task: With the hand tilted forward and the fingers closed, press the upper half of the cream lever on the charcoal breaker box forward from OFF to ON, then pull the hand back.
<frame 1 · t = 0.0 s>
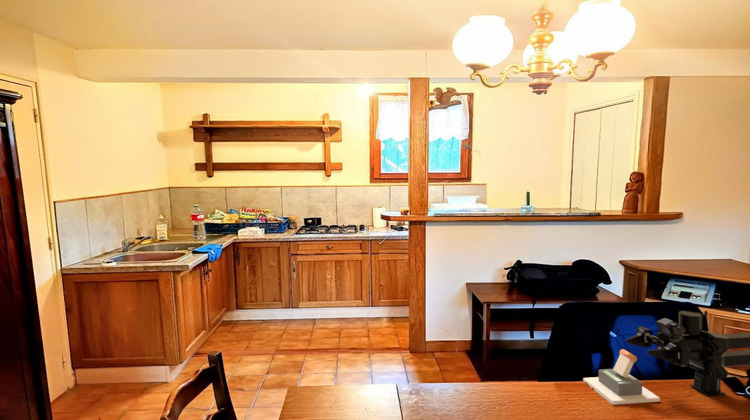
hand: (636, 346, 126), 16 cm above the table, tool horizontal, fingers open, 9 cm apart
breaker lever: (624, 363, 129), point 9 cm above the table, hinge at -25.0°
breaker box: (619, 390, 130), on the table
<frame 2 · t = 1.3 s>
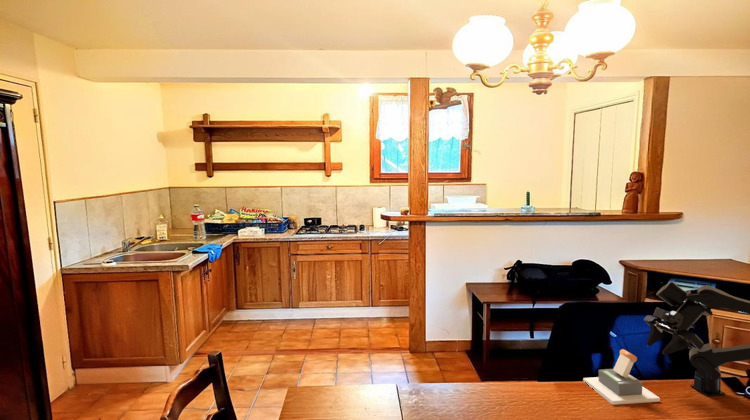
hand: (655, 349, 130), 14 cm above the table, tool tilted 45°, fingers open, 6 cm apart
nothing on the table moved.
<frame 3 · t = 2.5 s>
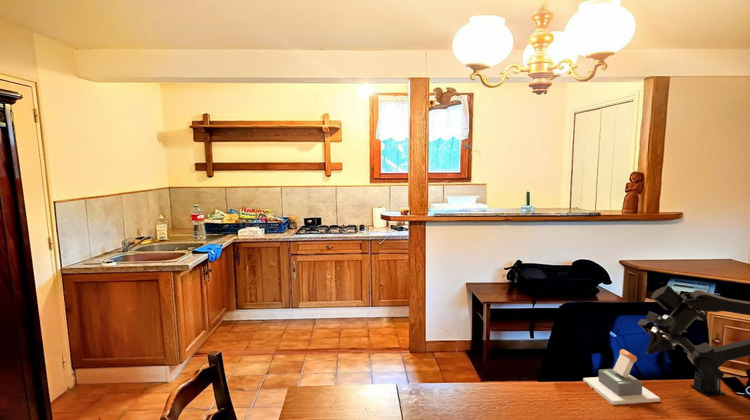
hand: (647, 353, 130), 12 cm above the table, tool tilted 45°, fingers closed
nothing on the table moved.
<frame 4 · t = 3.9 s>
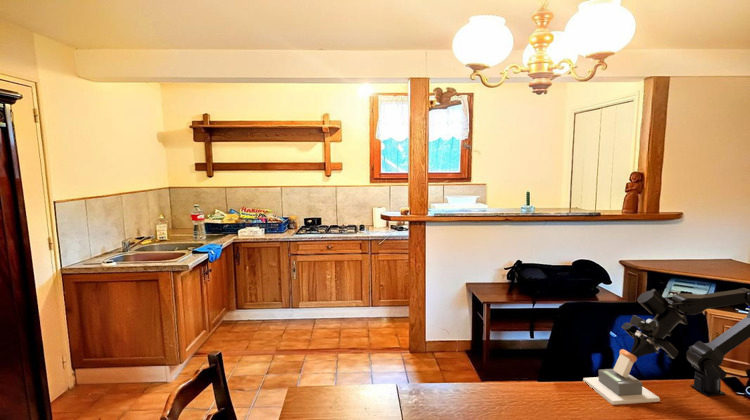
hand: (631, 357, 130), 11 cm above the table, tool tilted 45°, fingers closed, pressing on breaker lever
breaker lever: (624, 363, 129), point 9 cm above the table, hinge at -24.5°, touching gripper
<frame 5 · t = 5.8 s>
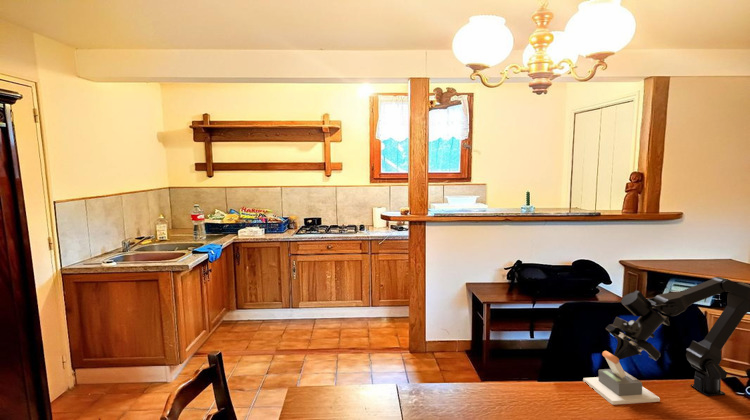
hand: (614, 359, 129), 11 cm above the table, tool tilted 45°, fingers closed, pressing on breaker lever
breaker lever: (614, 364, 129), point 9 cm above the table, hinge at 28.0°, touching gripper
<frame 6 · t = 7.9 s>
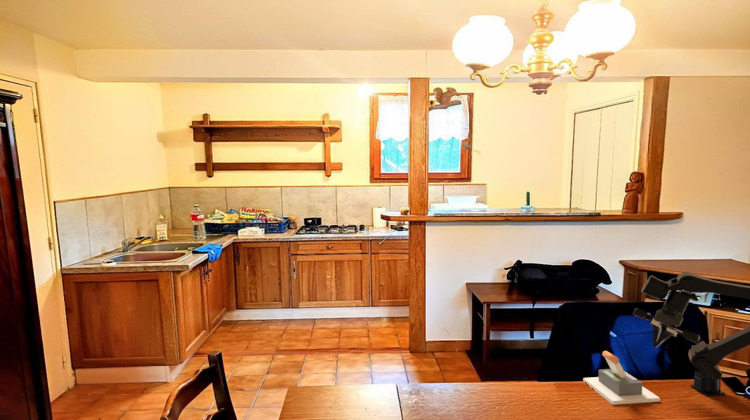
hand: (654, 347, 132), 13 cm above the table, tool tilted 25°, fingers closed
breaker lever: (614, 364, 129), point 9 cm above the table, hinge at 28.1°
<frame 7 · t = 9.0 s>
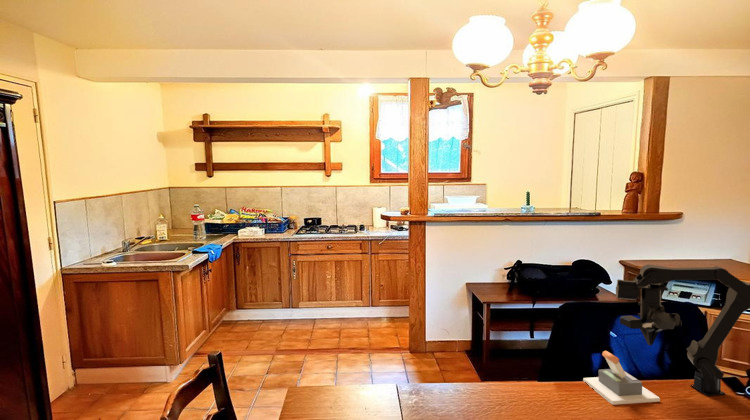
hand: (649, 344, 135), 13 cm above the table, tool pointing down, fingers closed
nothing on the table moved.
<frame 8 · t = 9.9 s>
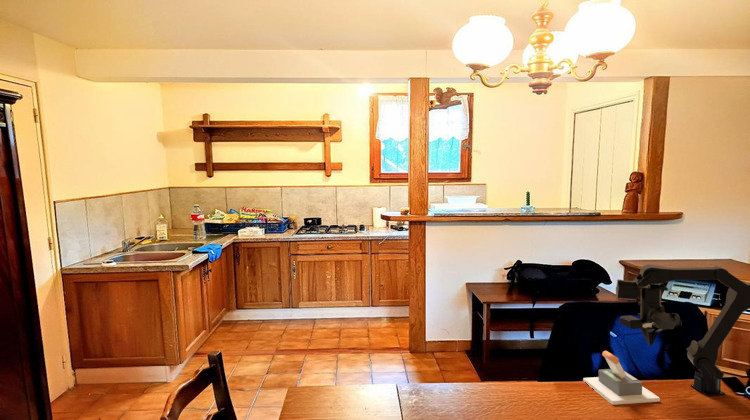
hand: (649, 344, 135), 13 cm above the table, tool pointing down, fingers closed
nothing on the table moved.
at the end: breaker lever at +28° (first picture: -25°); the gripper is holding nothing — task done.
